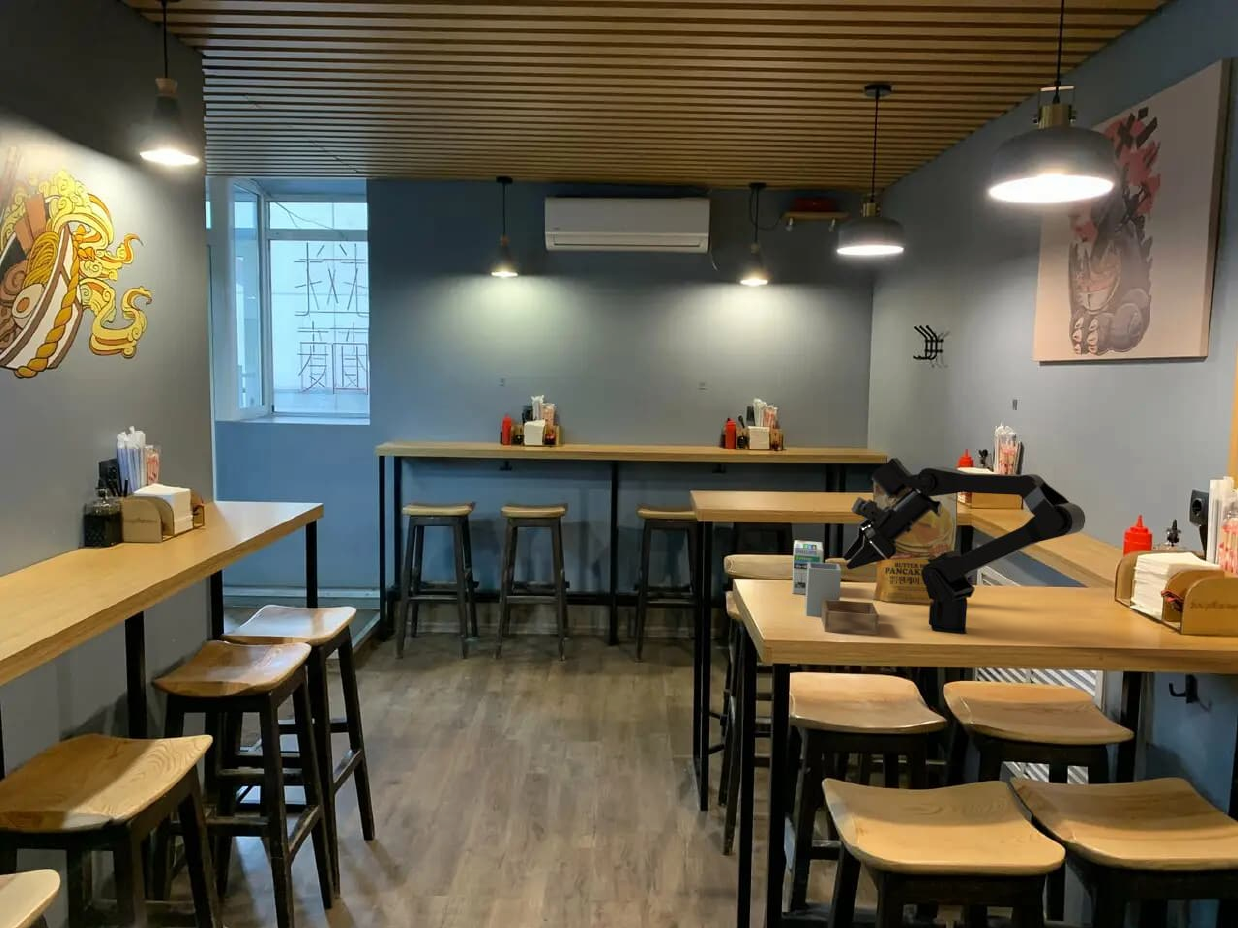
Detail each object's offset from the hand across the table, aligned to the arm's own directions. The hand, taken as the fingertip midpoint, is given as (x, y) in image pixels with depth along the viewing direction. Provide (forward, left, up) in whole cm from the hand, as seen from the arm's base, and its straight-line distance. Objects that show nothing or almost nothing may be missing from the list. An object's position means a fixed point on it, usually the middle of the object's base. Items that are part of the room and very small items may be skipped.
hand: (845, 563), depth 187 cm
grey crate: (+4, +1, -11) cm, 12 cm away
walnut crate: (-2, +10, -11) cm, 15 cm away
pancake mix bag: (-14, -18, -11) cm, 25 cm away
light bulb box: (+9, -19, -11) cm, 24 cm away
